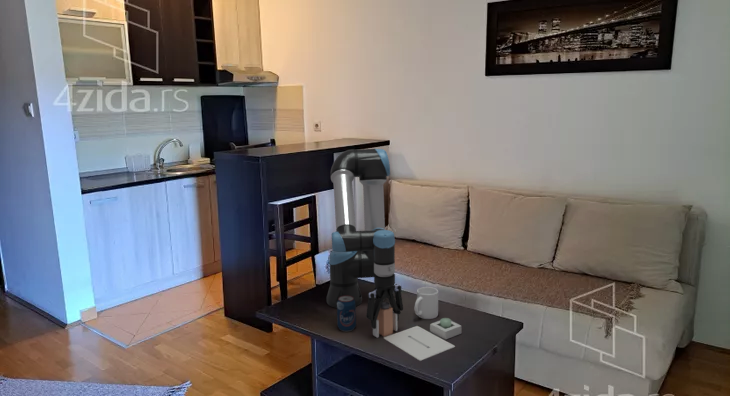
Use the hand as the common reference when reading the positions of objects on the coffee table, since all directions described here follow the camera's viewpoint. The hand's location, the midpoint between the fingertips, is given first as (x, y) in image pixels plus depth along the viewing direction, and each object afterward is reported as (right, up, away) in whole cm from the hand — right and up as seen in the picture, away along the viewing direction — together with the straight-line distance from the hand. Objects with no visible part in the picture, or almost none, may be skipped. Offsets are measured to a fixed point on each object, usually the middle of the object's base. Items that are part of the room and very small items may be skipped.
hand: (385, 332), depth 185 cm
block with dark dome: (0, 0, 0) cm, 0 cm away
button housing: (+22, 0, 0) cm, 22 cm away
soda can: (-14, 0, +5) cm, 15 cm away
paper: (+12, -1, -8) cm, 14 cm away
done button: (+22, +2, -1) cm, 22 cm away
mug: (+16, +3, +14) cm, 21 cm away
